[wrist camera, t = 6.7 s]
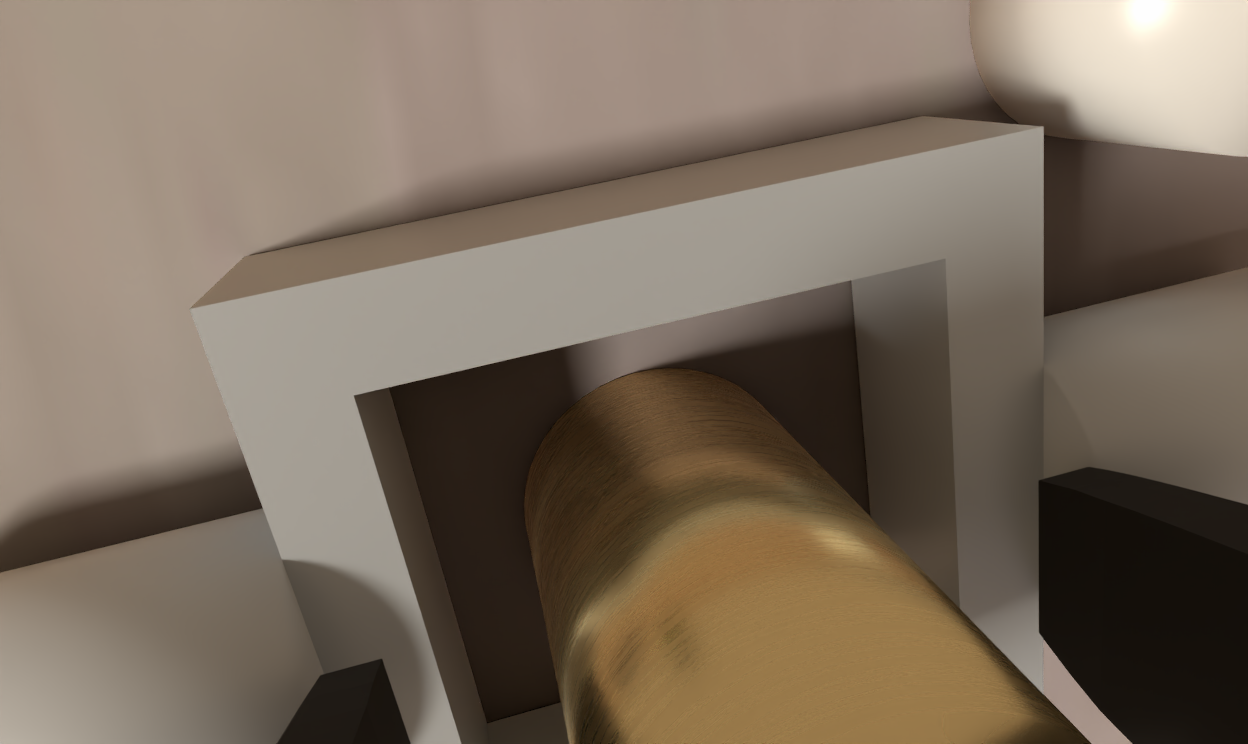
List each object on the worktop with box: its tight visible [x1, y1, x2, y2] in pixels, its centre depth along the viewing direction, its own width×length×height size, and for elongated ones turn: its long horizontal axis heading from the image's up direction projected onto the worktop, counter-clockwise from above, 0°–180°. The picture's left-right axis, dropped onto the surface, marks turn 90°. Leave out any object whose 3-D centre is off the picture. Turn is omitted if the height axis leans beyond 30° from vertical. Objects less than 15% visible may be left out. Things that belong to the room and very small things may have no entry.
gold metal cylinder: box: [524, 368, 1091, 744], centre depth 9 cm, size 4×4×8 cm
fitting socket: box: [0, 116, 1248, 744], centre depth 11 cm, size 19×9×4 cm, turn 100°
